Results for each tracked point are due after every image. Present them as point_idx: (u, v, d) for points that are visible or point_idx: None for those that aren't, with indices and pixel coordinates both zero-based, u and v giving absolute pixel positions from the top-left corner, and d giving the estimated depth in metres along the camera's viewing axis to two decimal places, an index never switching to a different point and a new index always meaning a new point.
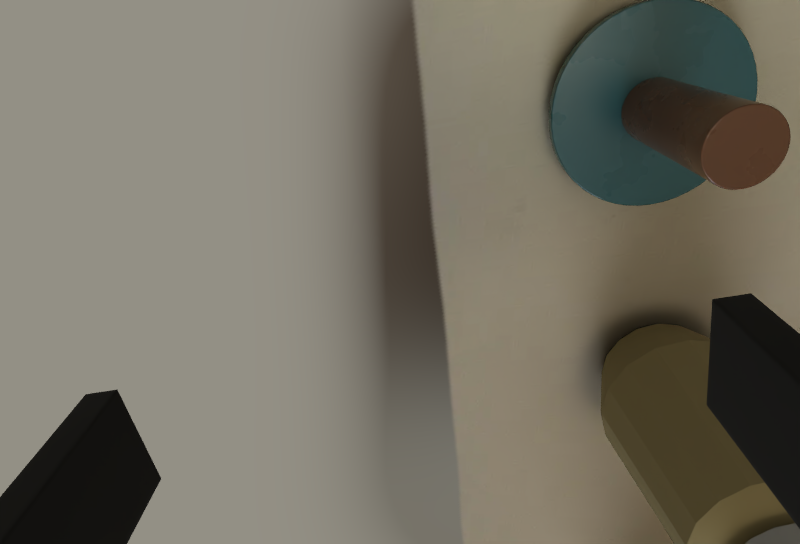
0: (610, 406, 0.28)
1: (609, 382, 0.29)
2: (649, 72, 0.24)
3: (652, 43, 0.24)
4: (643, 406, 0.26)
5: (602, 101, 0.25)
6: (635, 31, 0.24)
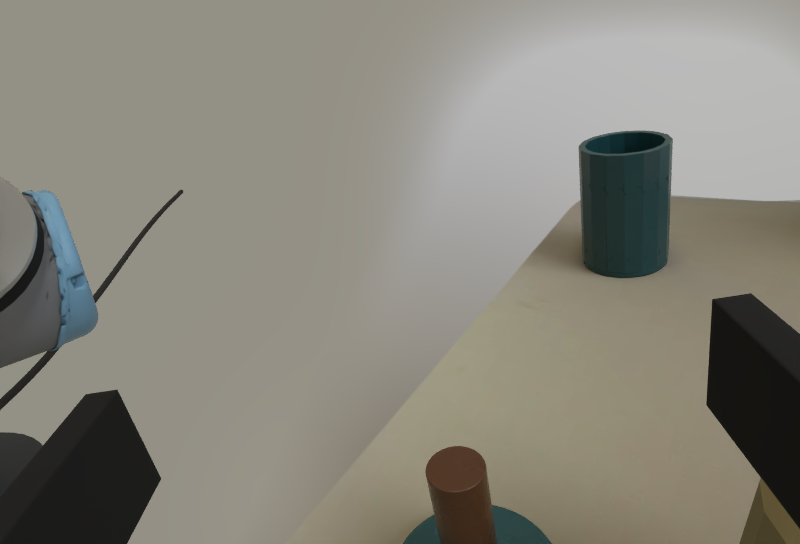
0: None
1: None
2: None
3: None
4: None
5: None
6: None
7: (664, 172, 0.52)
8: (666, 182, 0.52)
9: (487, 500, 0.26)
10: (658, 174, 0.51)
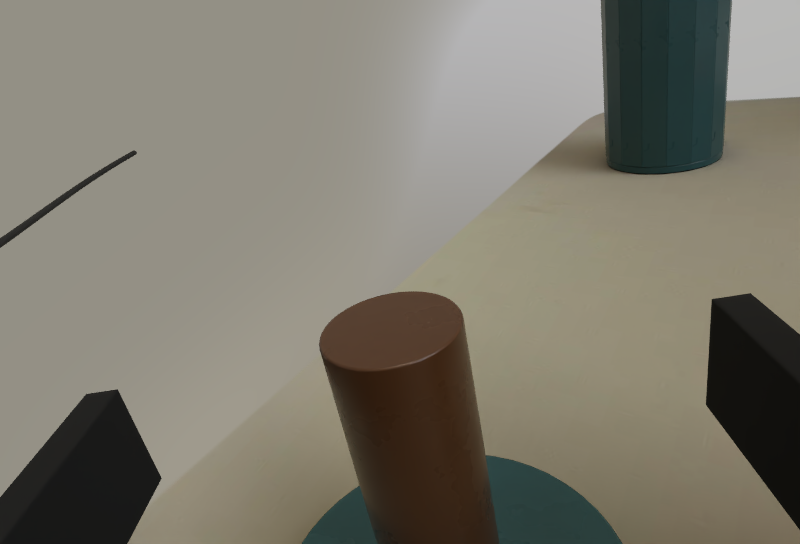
0: None
1: None
2: None
3: None
4: None
5: None
6: None
7: (724, 13, 0.37)
8: (726, 30, 0.37)
9: (468, 404, 0.11)
10: (715, 14, 0.36)
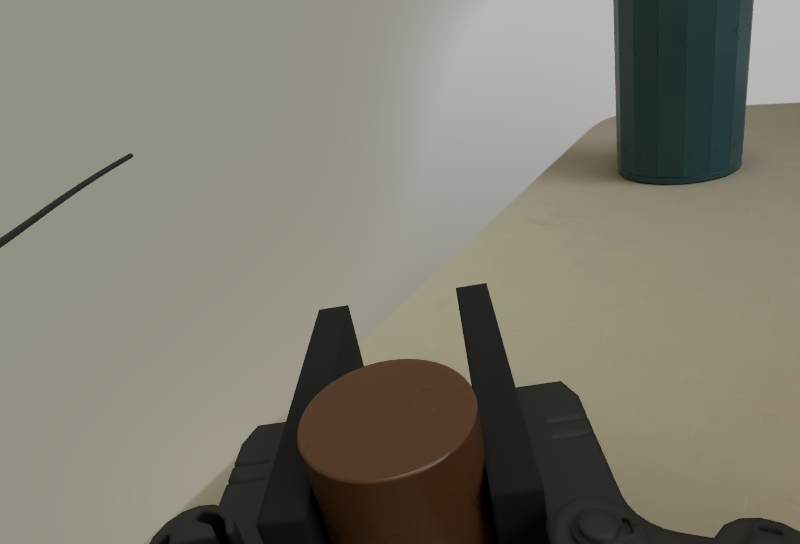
0: None
1: None
2: None
3: None
4: None
5: None
6: None
7: (746, 15, 0.35)
8: (747, 32, 0.35)
9: (484, 509, 0.09)
10: (737, 15, 0.34)
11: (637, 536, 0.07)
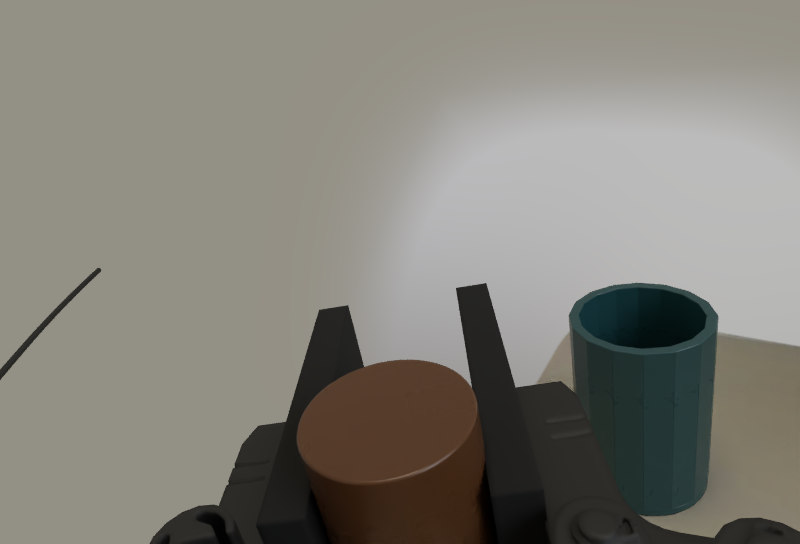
0: None
1: None
2: None
3: None
4: None
5: None
6: None
7: (708, 372, 0.32)
8: (710, 384, 0.33)
9: (483, 510, 0.09)
10: (697, 378, 0.32)
11: (637, 536, 0.07)
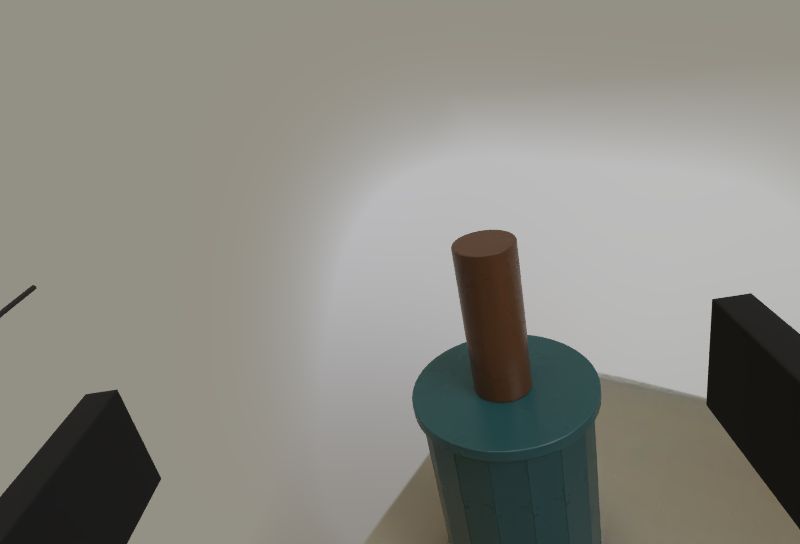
0: None
1: None
2: (470, 380, 0.28)
3: (451, 375, 0.29)
4: None
5: (470, 409, 0.26)
6: (434, 381, 0.28)
7: (577, 473, 0.25)
8: (583, 486, 0.26)
9: (518, 277, 0.24)
10: (562, 481, 0.25)
11: None
